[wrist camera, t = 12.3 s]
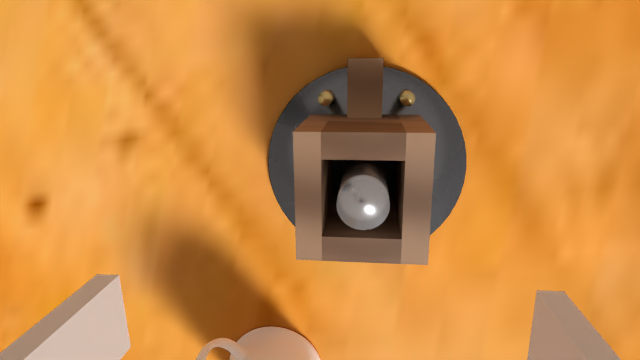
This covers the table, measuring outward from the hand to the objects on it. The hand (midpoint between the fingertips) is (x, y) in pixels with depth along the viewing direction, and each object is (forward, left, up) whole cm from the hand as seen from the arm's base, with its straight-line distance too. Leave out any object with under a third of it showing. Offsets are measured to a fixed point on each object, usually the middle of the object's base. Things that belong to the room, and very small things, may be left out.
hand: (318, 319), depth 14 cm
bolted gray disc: (+1, +1, -21) cm, 21 cm away
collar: (-1, +2, -20) cm, 20 cm away
